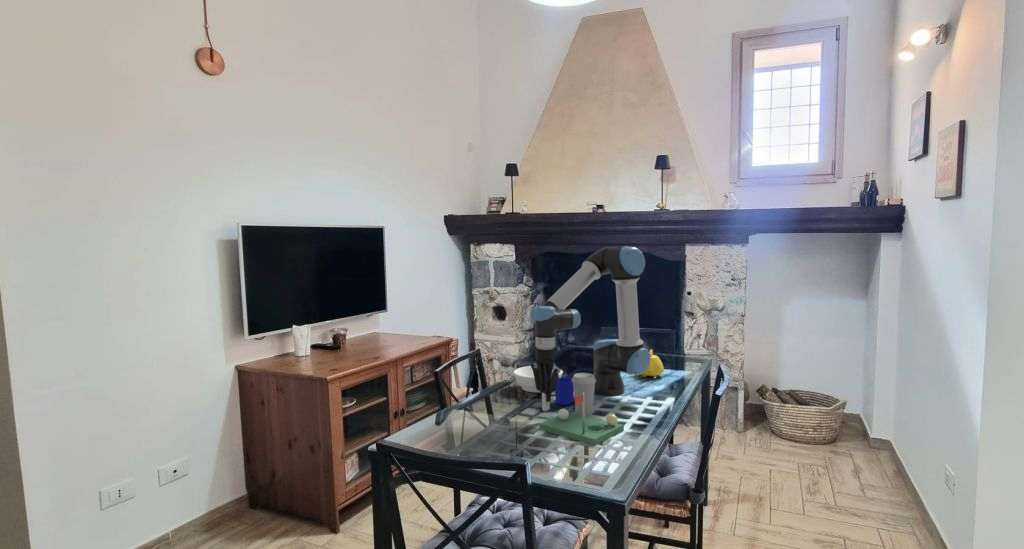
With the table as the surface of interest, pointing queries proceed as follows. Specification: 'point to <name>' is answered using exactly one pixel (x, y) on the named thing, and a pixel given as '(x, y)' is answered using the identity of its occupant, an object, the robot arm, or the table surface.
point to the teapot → (654, 366)
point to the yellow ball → (611, 419)
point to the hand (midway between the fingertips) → (545, 409)
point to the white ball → (563, 414)
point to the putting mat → (572, 428)
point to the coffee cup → (584, 391)
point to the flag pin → (579, 400)
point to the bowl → (528, 378)
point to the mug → (564, 391)
